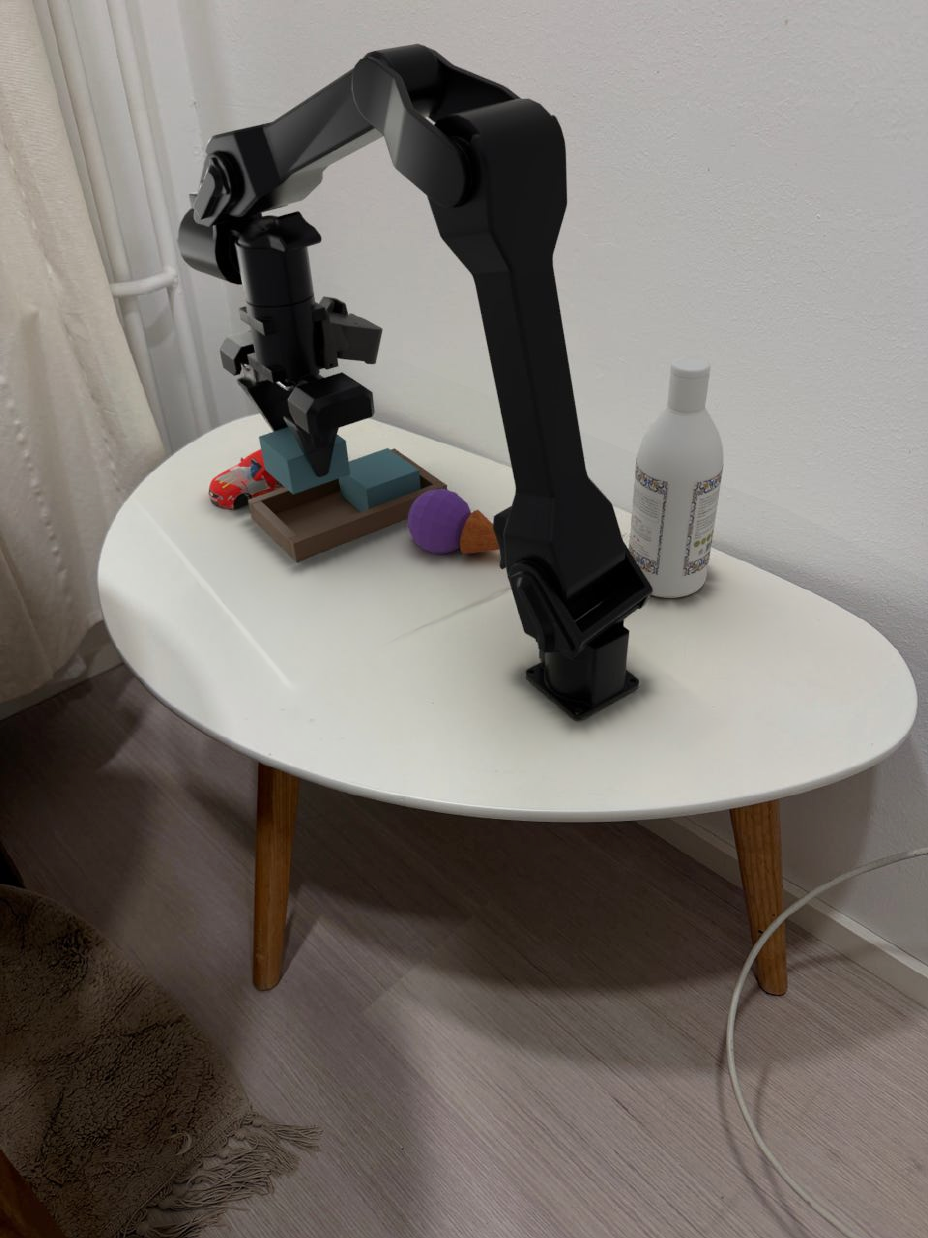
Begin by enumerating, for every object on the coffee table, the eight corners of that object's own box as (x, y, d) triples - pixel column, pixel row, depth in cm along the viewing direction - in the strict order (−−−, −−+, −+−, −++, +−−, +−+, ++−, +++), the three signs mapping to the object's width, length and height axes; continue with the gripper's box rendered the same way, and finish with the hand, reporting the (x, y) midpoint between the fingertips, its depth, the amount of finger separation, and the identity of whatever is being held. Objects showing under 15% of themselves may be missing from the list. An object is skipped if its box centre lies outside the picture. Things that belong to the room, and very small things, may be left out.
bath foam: (703, 557, 84) (734, 345, 72) (707, 603, 79) (742, 382, 66) (627, 553, 85) (644, 343, 73) (625, 598, 80) (644, 380, 67)
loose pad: (350, 474, 86) (346, 440, 84) (293, 494, 84) (286, 460, 81) (320, 450, 90) (315, 417, 88) (264, 469, 88) (258, 436, 85)
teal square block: (421, 500, 93) (419, 469, 91) (370, 520, 90) (366, 489, 88) (390, 477, 97) (387, 447, 95) (340, 495, 94) (336, 465, 92)
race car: (223, 520, 93) (214, 485, 90) (202, 498, 96) (194, 464, 94) (338, 478, 98) (333, 445, 96) (315, 459, 102) (309, 426, 99)
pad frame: (448, 507, 93) (447, 484, 91) (297, 567, 85) (293, 543, 84) (396, 469, 99) (394, 447, 98) (252, 522, 92) (247, 499, 90)
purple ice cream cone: (600, 578, 75) (392, 508, 82) (596, 625, 80) (399, 555, 87) (627, 532, 79) (425, 468, 86) (622, 579, 83) (430, 515, 90)
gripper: (421, 302, 74) (433, 473, 84) (313, 250, 86) (334, 405, 96) (297, 336, 69) (324, 514, 79) (201, 276, 81) (235, 436, 91)
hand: (306, 462), depth 86 cm, fingers closed on loose pad, 6 cm apart
